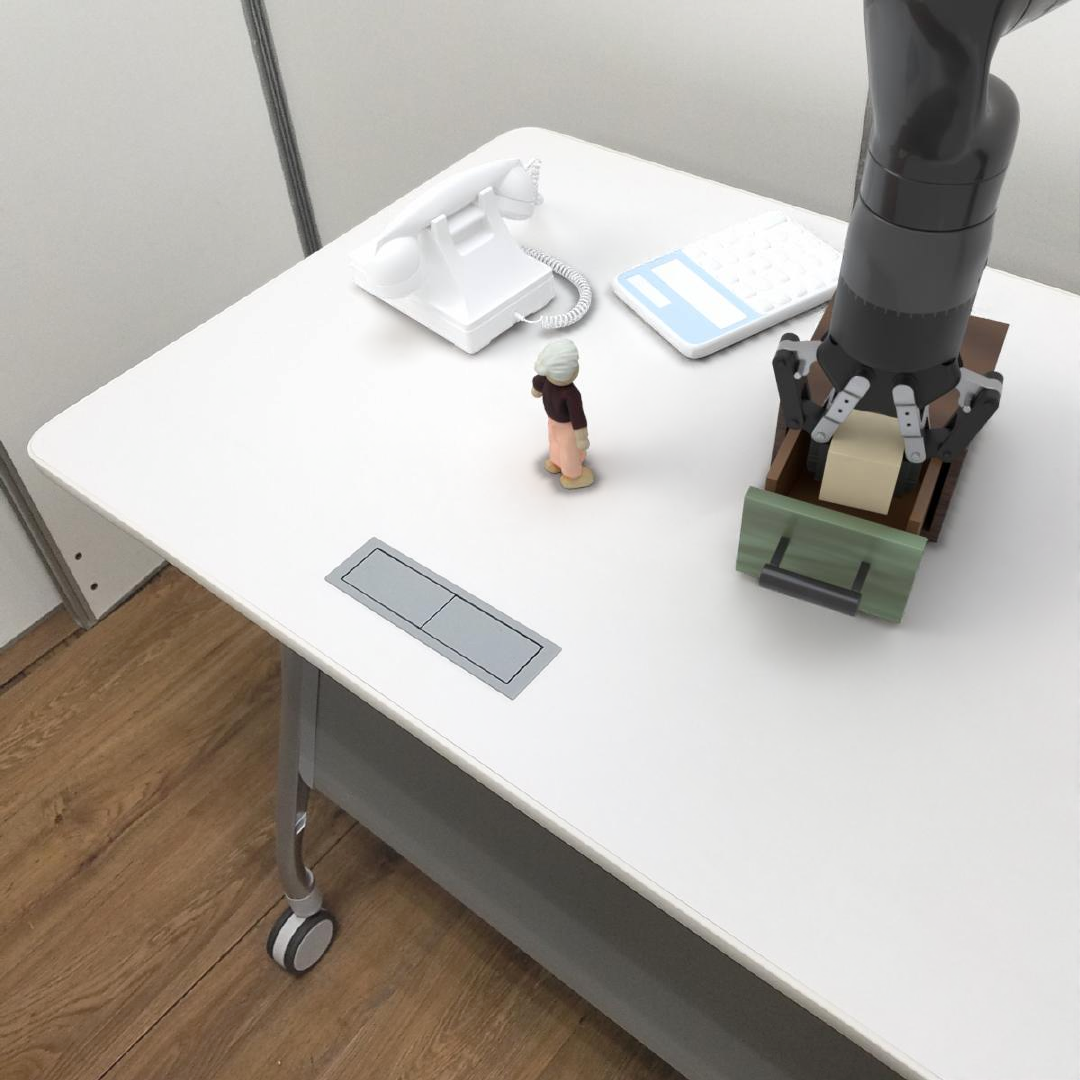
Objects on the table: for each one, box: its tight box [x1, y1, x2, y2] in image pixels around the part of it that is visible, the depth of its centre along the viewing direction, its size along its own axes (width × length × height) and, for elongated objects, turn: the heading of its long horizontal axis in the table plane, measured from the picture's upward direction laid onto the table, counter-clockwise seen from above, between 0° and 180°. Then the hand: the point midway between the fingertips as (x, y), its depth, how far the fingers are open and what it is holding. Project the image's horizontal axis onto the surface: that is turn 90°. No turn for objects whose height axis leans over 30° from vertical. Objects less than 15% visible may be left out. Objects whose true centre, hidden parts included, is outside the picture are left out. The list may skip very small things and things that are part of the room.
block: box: [819, 409, 905, 515], centre depth 72 cm, size 4×4×4 cm
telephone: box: [348, 157, 593, 355], centre depth 100 cm, size 25×21×12 cm
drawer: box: [735, 428, 944, 624], centre depth 77 cm, size 18×12×8 cm
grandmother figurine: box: [530, 337, 595, 490], centre depth 84 cm, size 8×4×13 cm, turn 42°
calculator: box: [611, 210, 843, 360], centre depth 102 cm, size 13×20×2 cm, turn 121°
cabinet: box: [769, 288, 1010, 543], centre depth 84 cm, size 15×13×10 cm
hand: (859, 480), depth 74 cm, fingers closed on block, 4 cm apart
